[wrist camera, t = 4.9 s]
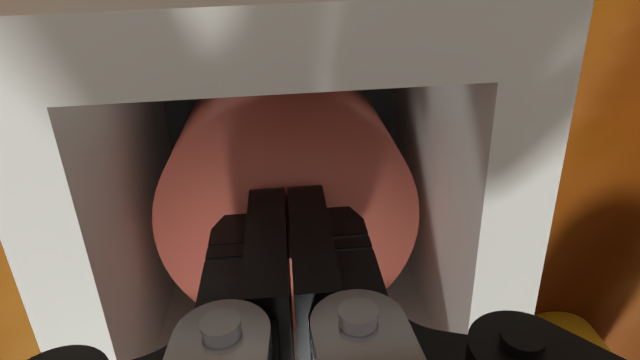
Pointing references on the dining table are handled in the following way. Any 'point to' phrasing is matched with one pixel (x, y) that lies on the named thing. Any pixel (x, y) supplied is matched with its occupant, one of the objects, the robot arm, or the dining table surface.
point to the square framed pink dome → (274, 79)
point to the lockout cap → (574, 326)
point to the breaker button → (282, 174)
